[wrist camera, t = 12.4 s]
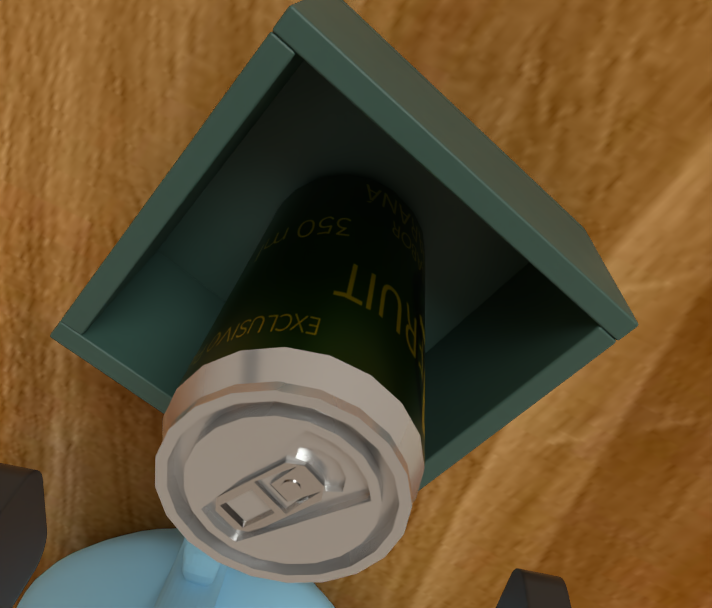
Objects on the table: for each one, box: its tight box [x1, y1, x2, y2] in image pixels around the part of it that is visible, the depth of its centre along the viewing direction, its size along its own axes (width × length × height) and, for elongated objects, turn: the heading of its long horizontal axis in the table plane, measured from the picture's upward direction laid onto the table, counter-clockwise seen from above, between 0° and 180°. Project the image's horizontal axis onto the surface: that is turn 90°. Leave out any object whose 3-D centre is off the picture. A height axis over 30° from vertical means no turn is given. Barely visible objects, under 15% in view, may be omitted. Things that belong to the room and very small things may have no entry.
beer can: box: [155, 175, 425, 583], centre depth 17 cm, size 5×5×12 cm
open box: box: [50, 0, 638, 491], centre depth 20 cm, size 11×11×6 cm
